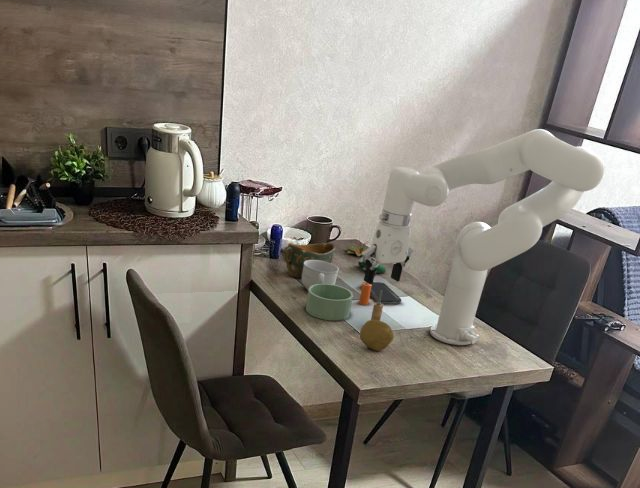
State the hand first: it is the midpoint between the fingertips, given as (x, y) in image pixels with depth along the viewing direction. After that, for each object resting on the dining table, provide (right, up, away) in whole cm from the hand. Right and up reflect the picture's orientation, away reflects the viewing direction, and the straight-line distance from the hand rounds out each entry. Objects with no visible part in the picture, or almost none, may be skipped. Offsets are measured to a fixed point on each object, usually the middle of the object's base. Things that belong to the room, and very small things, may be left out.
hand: (381, 281), depth 198 cm
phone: (+4, +3, +28) cm, 28 cm away
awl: (-1, -11, +7) cm, 13 cm away
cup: (-20, +12, +36) cm, 43 cm away
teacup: (-17, +2, +23) cm, 29 cm away
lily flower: (+1, +25, +60) cm, 65 cm away
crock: (-14, -6, +11) cm, 19 cm away
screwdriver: (-3, -2, +20) cm, 20 cm away
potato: (-3, -20, -7) cm, 21 cm away
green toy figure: (+3, +15, +46) cm, 48 cm away
